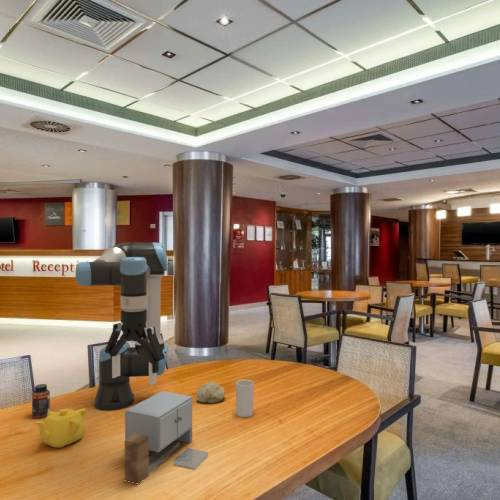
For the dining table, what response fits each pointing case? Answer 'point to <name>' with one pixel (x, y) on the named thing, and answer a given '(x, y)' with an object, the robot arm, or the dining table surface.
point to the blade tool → (143, 457)
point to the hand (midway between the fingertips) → (134, 380)
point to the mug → (244, 398)
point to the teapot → (62, 427)
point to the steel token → (191, 458)
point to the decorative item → (210, 393)
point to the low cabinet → (161, 419)
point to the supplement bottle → (40, 401)
